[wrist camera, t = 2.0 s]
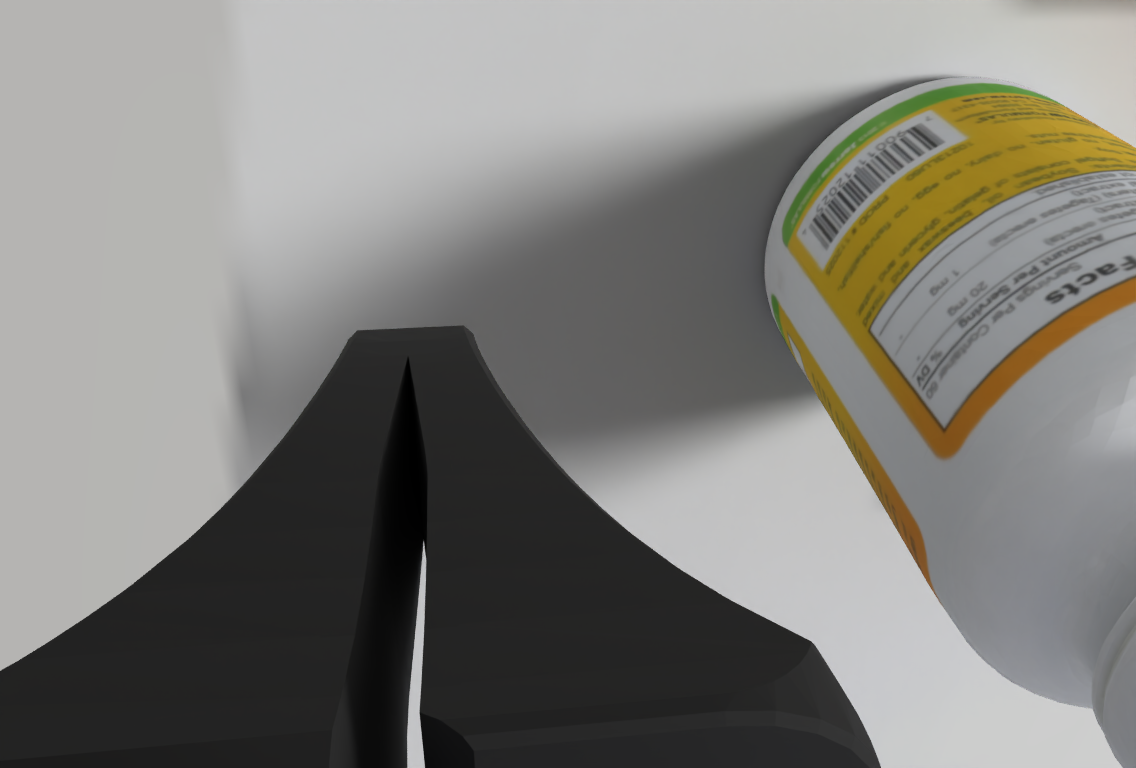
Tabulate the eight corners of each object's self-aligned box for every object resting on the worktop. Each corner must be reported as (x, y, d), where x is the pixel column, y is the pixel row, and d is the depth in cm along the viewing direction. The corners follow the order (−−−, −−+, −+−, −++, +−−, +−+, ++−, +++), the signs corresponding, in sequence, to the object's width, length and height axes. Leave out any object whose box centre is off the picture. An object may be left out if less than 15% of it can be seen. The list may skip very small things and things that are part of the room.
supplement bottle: (1027, 370, 18) (1528, 904, 10) (735, 382, 17) (1017, 966, 9) (1133, 67, 15) (1982, 477, 7) (786, 66, 14) (1272, 520, 6)
